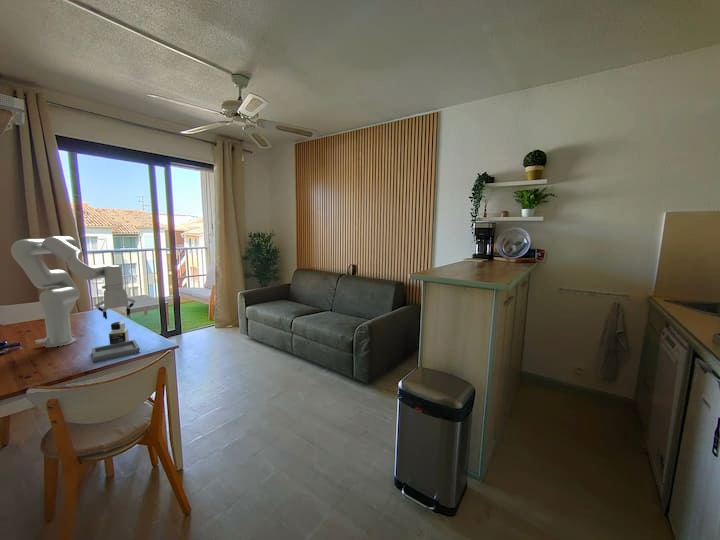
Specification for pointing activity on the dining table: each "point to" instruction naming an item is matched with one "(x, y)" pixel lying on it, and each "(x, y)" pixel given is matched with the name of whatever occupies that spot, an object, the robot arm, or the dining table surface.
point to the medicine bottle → (118, 333)
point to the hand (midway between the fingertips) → (117, 316)
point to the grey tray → (114, 350)
